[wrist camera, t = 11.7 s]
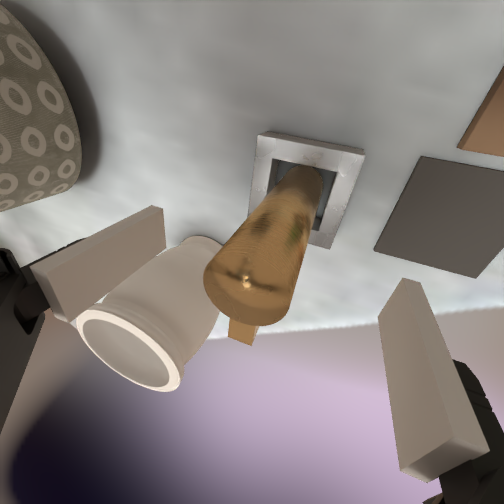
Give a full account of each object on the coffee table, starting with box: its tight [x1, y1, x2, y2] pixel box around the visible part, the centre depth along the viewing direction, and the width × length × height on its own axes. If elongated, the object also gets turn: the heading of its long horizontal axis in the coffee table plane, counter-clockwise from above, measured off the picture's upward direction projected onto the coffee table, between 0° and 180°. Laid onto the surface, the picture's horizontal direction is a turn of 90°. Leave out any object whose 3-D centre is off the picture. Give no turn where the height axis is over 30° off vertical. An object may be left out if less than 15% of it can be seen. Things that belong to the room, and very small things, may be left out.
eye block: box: [247, 131, 365, 249], centre depth 22 cm, size 8×8×3 cm
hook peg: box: [203, 165, 323, 346], centre depth 17 cm, size 6×4×16 cm, turn 172°
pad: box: [374, 156, 504, 279], centre depth 20 cm, size 9×9×1 cm
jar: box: [76, 236, 223, 392], centre depth 26 cm, size 11×10×15 cm
